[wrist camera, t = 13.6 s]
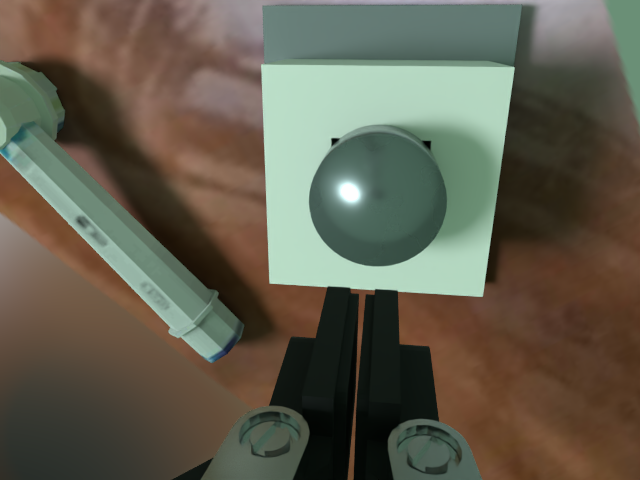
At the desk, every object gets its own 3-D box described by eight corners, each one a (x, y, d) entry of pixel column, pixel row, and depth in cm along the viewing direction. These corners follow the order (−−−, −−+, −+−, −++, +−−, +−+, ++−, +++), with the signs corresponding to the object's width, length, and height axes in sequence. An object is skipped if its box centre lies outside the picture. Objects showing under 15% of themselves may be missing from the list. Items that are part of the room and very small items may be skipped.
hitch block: (266, 6, 31) (227, -3, 24) (518, 5, 29) (560, -5, 22) (275, 270, 38) (247, 326, 31) (480, 282, 36) (503, 345, 29)
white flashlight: (193, 376, 38) (-106, 110, 29) (213, 322, 44) (-31, 86, 35) (245, 345, 36) (-56, 52, 28) (259, 293, 42) (15, 38, 34)
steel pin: (330, 107, 31) (308, 133, 23) (436, 109, 30) (453, 137, 22) (329, 206, 33) (308, 262, 25) (427, 211, 33) (440, 270, 24)
